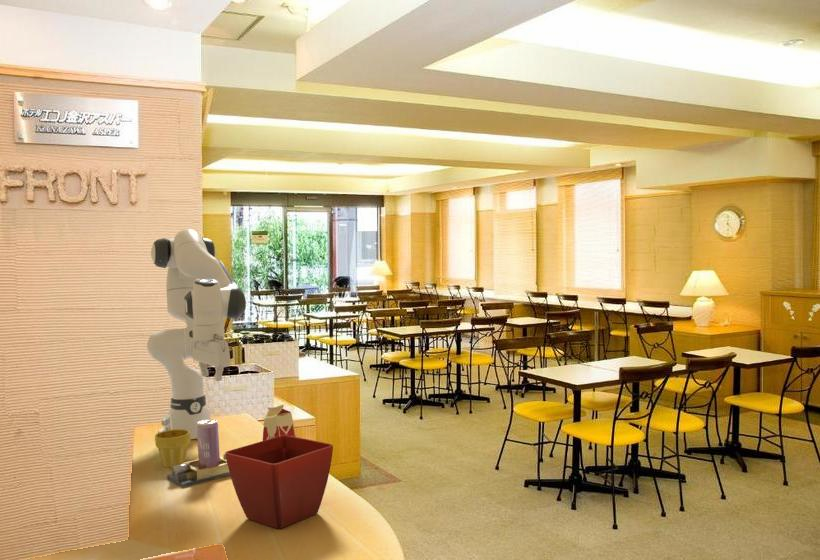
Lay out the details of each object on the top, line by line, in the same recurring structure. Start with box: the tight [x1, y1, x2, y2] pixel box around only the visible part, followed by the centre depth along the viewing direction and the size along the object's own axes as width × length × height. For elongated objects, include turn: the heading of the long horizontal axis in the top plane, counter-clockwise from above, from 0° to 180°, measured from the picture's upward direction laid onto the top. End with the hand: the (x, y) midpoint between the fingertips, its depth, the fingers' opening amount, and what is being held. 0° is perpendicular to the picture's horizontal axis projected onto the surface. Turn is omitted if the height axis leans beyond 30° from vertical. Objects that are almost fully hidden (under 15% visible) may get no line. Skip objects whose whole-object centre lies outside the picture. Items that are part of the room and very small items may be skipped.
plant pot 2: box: [224, 435, 334, 530], centre depth 168 cm, size 19×19×17 cm
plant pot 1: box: [154, 429, 191, 468], centre depth 214 cm, size 10×10×10 cm
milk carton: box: [262, 404, 297, 441], centre depth 204 cm, size 9×9×20 cm
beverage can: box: [196, 418, 221, 470], centre depth 201 cm, size 6×6×15 cm
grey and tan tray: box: [166, 453, 230, 488], centre depth 203 cm, size 12×21×5 cm, turn 131°
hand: (211, 378), depth 208 cm, fingers open, 8 cm apart
